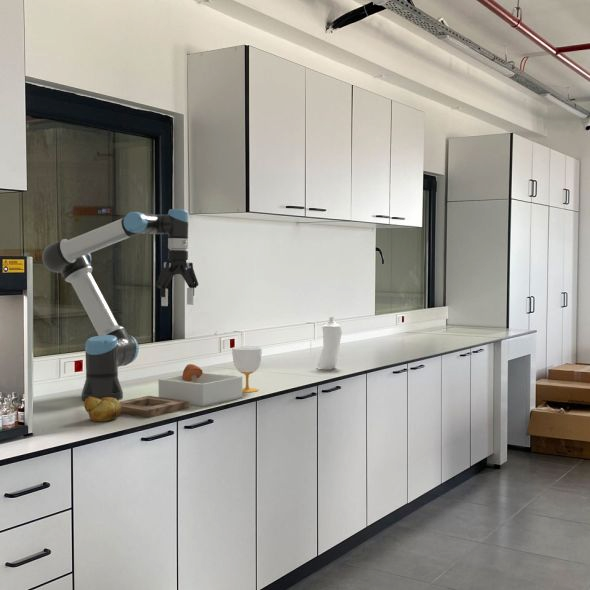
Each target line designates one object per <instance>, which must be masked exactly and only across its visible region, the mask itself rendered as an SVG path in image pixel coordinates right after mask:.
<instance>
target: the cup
mask: <svg viewBox="0 0 590 590" xmlns="http://www.w3.org/2000/svg"><path fill="white" fill-rule="evenodd" d="M262 350H263V349H262V347H260V346H235V347H232V348H231V351H232V362H233V365H234V367H235V369H236V370H237V371H238V372H239V373H241V374H243V375H244V376H245V387H244V388H243V387H242V393H255V392H258V391H259V389H258V388H253V387H249V376H250V375H251V374H253V373H254V372H256V371H258V369H259V368H260V365H261V362H262V353H263V352H262Z"/></svg>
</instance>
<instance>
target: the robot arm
mask: <svg viewBox="0 0 590 590" xmlns="http://www.w3.org/2000/svg"><path fill="white" fill-rule="evenodd" d="M139 234H143V235H168V237H167V238H168V239H167V242H168V243H167V249H168V251H167V260H168V261H169V262H168V261H164V262H162V268H161V271H160V273H159V275H158V279H157V281H156V283H155V287H156V288H158V289H160V291H159V292H160V293H159V294H160V296H159V297H160V298H161V299H160V300H161V302H160V303H161V305H160V306H161V307H168V306H169V305H168V304H169V299H168V298H169V297H168V296H169V289H168V288H167V287H168V285H169V284H170V283H171V280H172V279H173V278H174V276H175V275H181V276H182V279H183V280H184V281H185V283H186V285H187V286H188V287H186V305H191V306H192V305H194V296H195V289H196V288H197V287H198V286H199V282H198V279H197V276H196V274H195V270H194V265H193V262H187V260H189V259H188V258H189V251H188V249H189V212H188V210H186V209H184V208H170V209H169V210H168V212H167V214H152V213H145V212H140V211H130V212H128V213H127V214H126V215H125V216H124V217H122V218H120V219H118V220H114V221H113V222H110V223H107V224H105V225H102V226H100V227H97V228H95V229H93V230H90V231H88V232H85V233H83V234H80V235H77V236H74V237H73V238H70V239H67V238H63V239H61V240H58V241H55V242H52V243H50V244H48V245H46V247H45V248H44V250H43V252H42V255H41V256H42V257H41V258H42V260H41V261H42V263H43V265H44V266H45V268H46V269H47V270H48V271H50V272H53V273H55V274H57V273H59V274H60V273H61V276H62V277H63V279H64V281H65V282H66V283H70V284H71V286H72V288H73V289H74V291H75V293H76V295H77V297H78V299H79V301H80V303H81V305H82V307H83V308H84V310H85V312H86V313H87V316H88V318H89V320H90V321H91V324H92V325H93V328H94V329H95V331H96V333H97V335H96V336H92V337H89V338H88V339H86V341H85V348H84V352H85V381H84V385H83V388H82V392H81V400H82V401H84V402H85V399H86V398H88V397H94V398H98V399H102V398H106V397H112V398H116V399H117V400H118V401H119V400H120V399H123V398H124V392H123V388H122V386H121V382H120V380H119V373H118V372H119V371H118V370H119V369H118V368H119V367H123V366H127V365H129V364H131V363H133V362H134V361H135V360H136V358H137V357H138V354H139V343H138V340H136V339H135V337H134V336H132V335H130V334H128V332H127V330H126V328H125V327H124V326H122V325H119V324H118V322H117V319H116V318H115V316H114V314H113V312H112V310H111V308H110V307H109V305H108V302H107V301H106V299H105V297H104V295H103V293H102V292H101V290H100V288H99V286H98V284H97V282H96V281H95V278H94V276H93V275H92V272H93V266H92V255H91V254H92V253H94V252H96V251H99V250H101V249H104V248H107V247H109V246H111V245H114V244H116V243H119V242H121V241H123V240H127V239H129V238H131V237H134V236H137V235H139Z"/></svg>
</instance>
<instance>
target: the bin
mask: <svg viewBox="0 0 590 590" xmlns="http://www.w3.org/2000/svg"><path fill="white" fill-rule="evenodd" d="M242 388H243V376H237V375H229V374H222V373H221V374H219V373H209V372H203V373H202V375H201V376H200V377H199V378H198V383H193V381H189V382H188V381H184V380H183V374H181V375H175V376H170V377H164V378H159V379H158V397H162V398H169V399H176V400H184V401H189V406H192V407H193V406H195V407H200V408H204V407H210V406H213V404H214V405H217V403H218V404H222V403H226V401H227V402H230V401H234V400H239V399H243V392H242Z"/></svg>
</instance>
